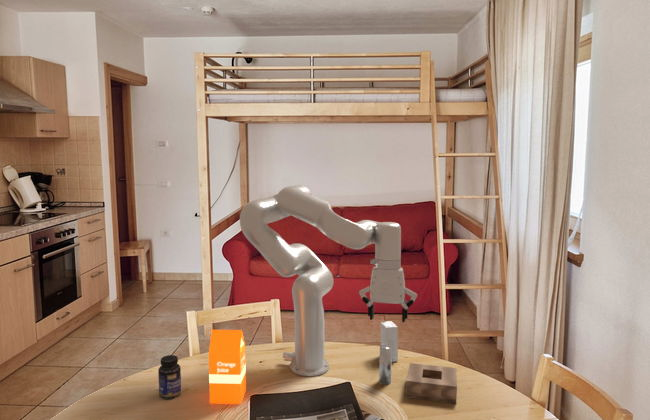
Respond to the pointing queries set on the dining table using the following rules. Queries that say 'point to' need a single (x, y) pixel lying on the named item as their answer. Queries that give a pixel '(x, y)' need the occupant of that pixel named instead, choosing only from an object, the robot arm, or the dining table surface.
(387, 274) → the robot arm
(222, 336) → the orange juice
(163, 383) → the pill bottle
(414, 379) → the socket block
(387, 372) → the pin
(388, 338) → the skincare box
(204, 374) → the dining table surface
